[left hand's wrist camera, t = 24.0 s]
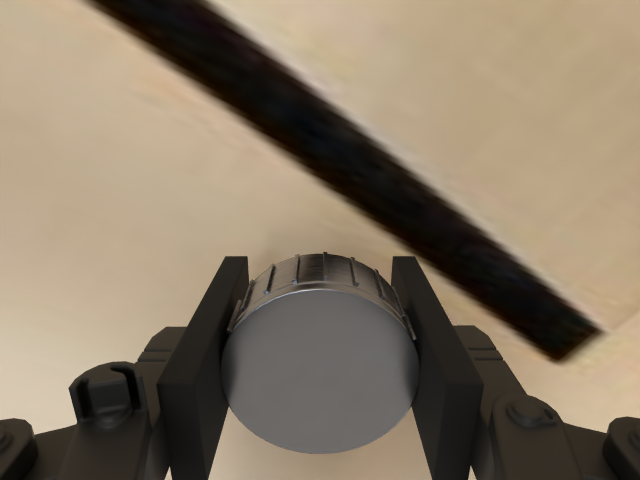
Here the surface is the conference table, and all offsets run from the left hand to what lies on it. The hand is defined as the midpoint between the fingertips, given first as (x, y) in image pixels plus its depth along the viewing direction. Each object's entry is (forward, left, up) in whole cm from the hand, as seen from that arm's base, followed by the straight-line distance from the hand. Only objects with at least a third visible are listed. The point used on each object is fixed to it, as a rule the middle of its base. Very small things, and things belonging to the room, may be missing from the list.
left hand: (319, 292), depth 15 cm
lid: (0, 0, +4) cm, 4 cm away
